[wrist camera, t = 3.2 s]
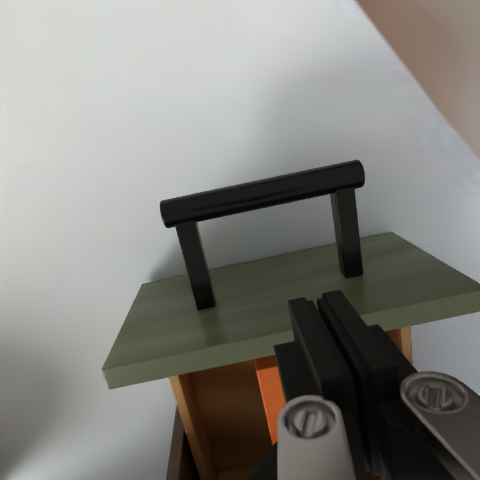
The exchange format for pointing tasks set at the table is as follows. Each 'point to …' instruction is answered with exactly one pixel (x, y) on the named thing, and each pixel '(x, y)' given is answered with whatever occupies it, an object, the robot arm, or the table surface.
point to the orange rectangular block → (270, 391)
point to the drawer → (267, 309)
